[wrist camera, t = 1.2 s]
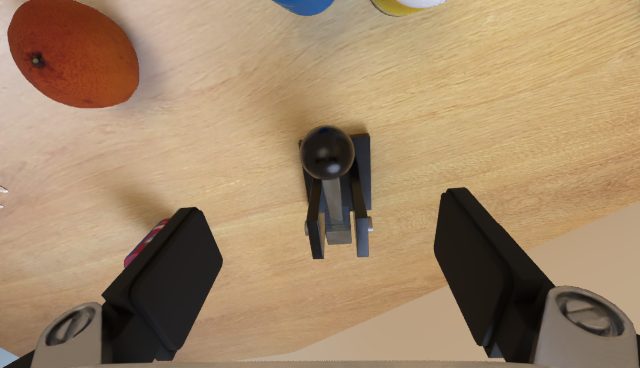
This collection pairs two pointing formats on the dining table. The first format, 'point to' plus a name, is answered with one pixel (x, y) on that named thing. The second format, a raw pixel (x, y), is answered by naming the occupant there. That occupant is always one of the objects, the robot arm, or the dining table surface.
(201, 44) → the dining table surface
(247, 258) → the dining table surface
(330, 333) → the dining table surface
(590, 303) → the robot arm
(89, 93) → the fruit
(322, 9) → the beverage can
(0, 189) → the tree stump
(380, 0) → the pill bottle
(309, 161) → the switch lever
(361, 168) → the switch bracket
